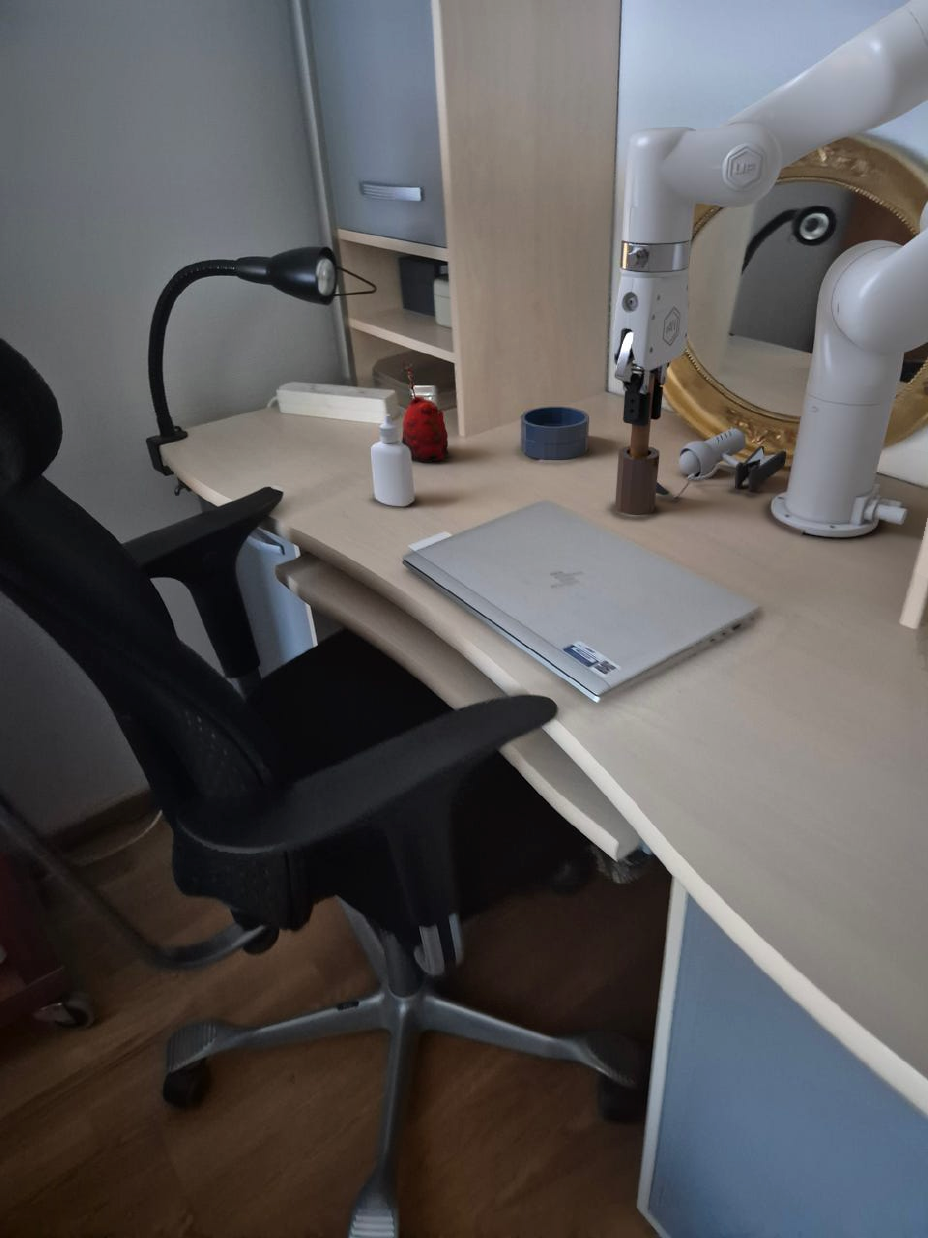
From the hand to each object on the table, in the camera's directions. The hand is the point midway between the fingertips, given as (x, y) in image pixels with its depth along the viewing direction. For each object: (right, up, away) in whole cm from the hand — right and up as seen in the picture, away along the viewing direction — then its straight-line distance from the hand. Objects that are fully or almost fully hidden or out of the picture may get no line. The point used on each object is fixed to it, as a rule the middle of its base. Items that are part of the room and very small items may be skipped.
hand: (641, 419), depth 99 cm
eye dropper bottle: (-31, -8, +12) cm, 35 cm away
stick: (0, -10, +6) cm, 12 cm away
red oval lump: (-28, +1, +26) cm, 38 cm away
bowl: (-8, +1, +26) cm, 27 cm away
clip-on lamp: (+12, -6, +13) cm, 18 cm away
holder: (0, -10, +6) cm, 12 cm away
